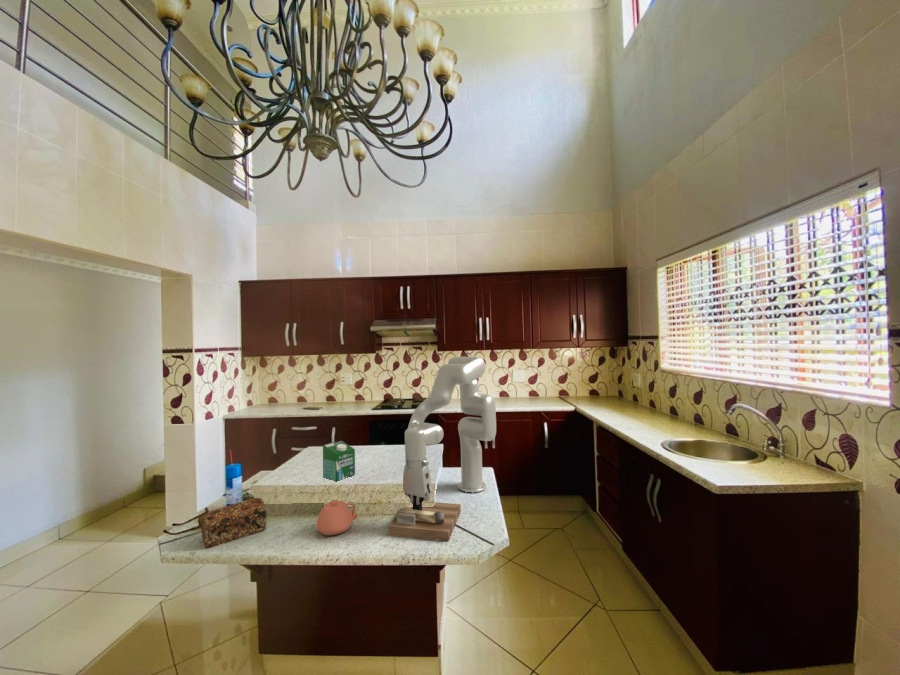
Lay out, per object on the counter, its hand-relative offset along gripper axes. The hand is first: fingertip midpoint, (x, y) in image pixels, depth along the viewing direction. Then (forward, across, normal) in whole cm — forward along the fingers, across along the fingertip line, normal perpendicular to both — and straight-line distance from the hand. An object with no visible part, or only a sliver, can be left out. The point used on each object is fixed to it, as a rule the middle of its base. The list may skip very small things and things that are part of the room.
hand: (417, 513), depth 128 cm
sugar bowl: (+4, +22, +17) cm, 29 cm away
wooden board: (+4, -2, -2) cm, 5 cm away
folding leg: (0, -3, +2) cm, 4 cm away
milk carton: (+4, +37, +4) cm, 37 cm away
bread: (+3, +51, +38) cm, 64 cm away
